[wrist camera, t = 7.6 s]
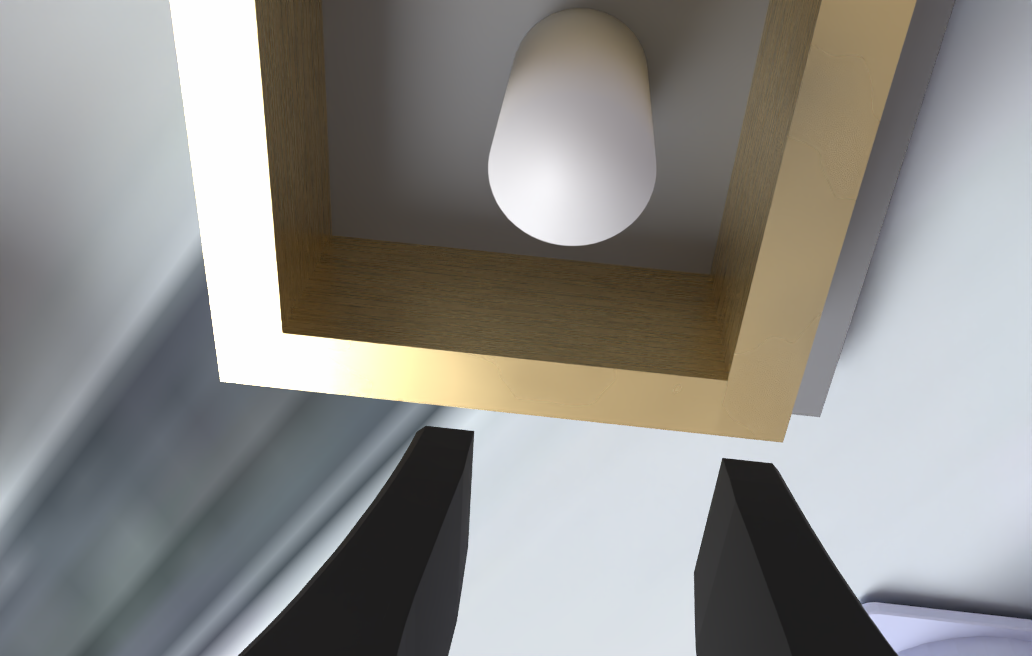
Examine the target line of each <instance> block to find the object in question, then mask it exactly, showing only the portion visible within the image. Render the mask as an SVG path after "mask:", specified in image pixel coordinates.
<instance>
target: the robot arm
mask: <svg viewBox="0 0 1032 656" xmlns="http://www.w3.org/2000/svg"><path fill="white" fill-rule="evenodd" d="M473 442H474V431H468V430H459V429H449V428H440V427H431V426H425V427H424V428H422V429H421V430H419V431H418V432H416V434H415V436H414V438H413V440H412V442H411V444H410V446H409V447H408V449H407V451H406V452H405V454H404V456H403V457H402V459H401V461H400V462H399V464H398V465H397V467H396V469H395V470H394V472H393V473H392V475H391V476H390V478H389V479H388V481H387V482H386V484H385V485H384V486H383V488H382V489H381V491H380V492H379V494H378V495H377V497H376V498H375V500H374V501H373V502H372V504H371V505H370V506H369V508H368V509H367V510H366V512H365V513H364V514H363V515H362V517H361V518H360V519H359V521H358V522H357V523H356V525H355V526H354V527H353V529H352V530H351V531H350V533H349V534H348V535H347V537H346V538H345V539H344V541H343V542H342V543H341V544H340V546H339V547H338V548H337V549H336V550H335V552H334V553H333V554H332V555H331V556H330V558H329V559H328V560H327V561H326V562H325V563H324V565H323V566H322V567H321V568H320V569H319V570H318V571H317V573H316V574H315V575H314V576H313V577H312V578H311V580H310V581H309V582H308V583H307V584H306V585H305V587H304V588H303V589H302V590H301V591H300V592H299V594H298V595H297V596H296V597H295V598H294V599H293V600H292V601H291V602H290V603H289V604H288V606H287V607H286V608H285V609H284V610H283V611H282V612H281V613H280V614H279V615H278V616H277V617H276V618H275V619H274V620H273V621H272V622H271V623H270V624H269V625H268V627H267V628H266V629H265V630H264V631H263V632H262V633H261V634H260V635H259V636H258V637H257V638H255V639H254V640H253V641H252V642H251V643H250V644H249V645H248V646H247V647H246V648H245V649H244V650H243V651H242V652H241V653H240V654H239V655H238V656H448V653H449V650H450V646H451V642H452V638H453V634H454V630H455V626H456V622H457V616H458V610H459V603H460V597H461V590H462V583H463V577H464V570H465V563H466V556H467V550H468V536H469V517H470V498H471V480H472V461H473ZM694 597H695V638H696V654H697V656H1032V620H1030V619H1021V618H1012V617H1003V616H994V615H985V614H977V613H968V612H959V611H950V610H941V609H932V608H924V607H915V606H906V605H897V604H888V603H879V602H868V603H865V604H862V605H861V603H860V602H859V600H858V599H857V597H856V596H855V594H854V593H853V591H852V590H851V588H850V587H849V585H848V584H847V582H846V581H845V579H844V578H843V576H842V575H841V574H840V572H839V571H838V569H837V567H836V566H835V564H834V563H833V561H832V560H831V558H830V557H829V555H828V553H827V552H826V550H825V549H824V547H823V545H822V544H821V542H820V541H819V539H818V537H817V536H816V534H815V532H814V531H813V529H812V528H811V526H810V524H809V523H808V521H807V519H806V518H805V516H804V514H803V513H802V511H801V509H800V507H799V506H798V504H797V502H796V501H795V499H794V497H793V495H792V494H791V492H790V490H789V488H788V487H787V485H786V483H785V481H784V480H783V478H782V476H781V474H780V473H779V471H778V470H777V469H776V467H775V466H774V465H773V464H772V463H763V462H754V461H745V460H736V459H726V458H722V462H721V466H720V470H719V474H718V478H717V482H716V486H715V490H714V494H713V498H712V502H711V506H710V510H709V514H708V518H707V522H706V526H705V531H704V535H703V539H702V543H701V547H700V551H699V555H698V559H697V563H696V567H695V571H694Z"/></svg>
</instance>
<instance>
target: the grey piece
mask: <svg viewBox="0 0 1032 656" xmlns="http://www.w3.org/2000/svg"><path fill="white" fill-rule="evenodd" d="M954 3H955V0H917V1H916V4H915V8H914V11H913V14H912V17H911V21H910V24H909V27H908V31H907V34H906V37H905V41H904V44H903V47H902V50H901V54H900V57H899V60H898V64H897V67H896V70H895V74H894V77H893V80H892V83H891V87H890V90H889V93H888V97H887V100H886V103H885V107H884V110H883V113H882V117H881V120H880V123H879V126H878V130H877V133H876V136H875V140H874V143H873V146H872V150H871V153H870V156H869V159H868V163H867V166H866V169H865V173H864V176H863V179H862V183H861V186H860V189H859V192H858V196H857V199H856V202H855V206H854V209H853V212H852V216H851V219H850V222H849V225H848V229H847V232H846V235H845V239H844V242H843V245H842V249H841V252H840V255H839V258H838V262H837V265H836V268H835V272H834V275H833V278H832V282H831V285H830V288H829V292H828V295H827V298H826V301H825V305H824V308H823V311H822V315H821V318H820V321H819V325H818V328H817V331H816V334H815V338H814V341H813V344H812V348H811V351H810V354H809V358H808V361H807V364H806V367H805V371H804V374H803V377H802V381H801V384H800V387H799V391H798V394H797V397H796V400H795V404H794V407H793V410H792V414H796V415H805V416H814V417H820V415H821V412H822V409H823V406H824V403H825V400H826V397H827V394H828V391H829V388H830V384H831V381H832V378H833V375H834V372H835V369H836V366H837V363H838V360H839V357H840V354H841V351H842V348H843V344H844V341H845V338H846V335H847V332H848V329H849V326H850V323H851V320H852V317H853V314H854V311H855V308H856V305H857V301H858V298H859V295H860V292H861V289H862V286H863V283H864V280H865V277H866V274H867V271H868V268H869V265H870V262H871V258H872V255H873V252H874V249H875V246H876V243H877V240H878V237H879V234H880V231H881V228H882V225H883V222H884V218H885V215H886V212H887V209H888V206H889V203H890V200H891V197H892V194H893V191H894V188H895V185H896V182H897V179H898V175H899V172H900V169H901V166H902V163H903V160H904V157H905V154H906V151H907V148H908V145H909V142H910V139H911V136H912V132H913V129H914V126H915V123H916V120H917V117H918V114H919V111H920V108H921V105H922V102H923V99H924V96H925V92H926V89H927V86H928V83H929V80H930V77H931V74H932V71H933V68H934V65H935V62H936V59H937V56H938V53H939V49H940V46H941V43H942V40H943V37H944V34H945V31H946V28H947V25H948V22H949V19H950V16H951V13H952V10H953V6H954ZM768 5H769V0H322V16H323V39H324V62H325V84H326V107H327V130H328V153H329V175H330V198H331V221H332V235H333V236H343V237H353V238H362V239H372V240H382V241H391V242H401V243H411V244H420V245H430V246H440V247H449V248H459V249H469V250H478V251H488V252H497V253H507V254H517V255H526V256H536V257H546V258H555V259H565V260H575V261H584V262H594V263H604V264H613V265H623V266H633V267H642V268H652V269H662V270H671V271H681V272H691V273H700V274H710V272H711V268H712V263H713V258H714V254H715V249H716V245H717V240H718V235H719V231H720V226H721V222H722V217H723V212H724V208H725V203H726V198H727V194H728V189H729V185H730V180H731V175H732V171H733V166H734V162H735V157H736V152H737V148H738V143H739V139H740V134H741V129H742V125H743V120H744V116H745V111H746V106H747V102H748V97H749V92H750V88H751V83H752V79H753V74H754V69H755V65H756V60H757V56H758V51H759V46H760V42H761V37H762V33H763V28H764V23H765V19H766V14H767V10H768Z"/></svg>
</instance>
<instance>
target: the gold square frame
mask: <svg viewBox="0 0 1032 656" xmlns="http://www.w3.org/2000/svg"><path fill="white" fill-rule="evenodd" d="M916 1H917V0H769V5H768V10H767V14H766V19H765V23H764V28H763V33H762V37H761V42H760V46H759V51H758V56H757V60H756V65H755V69H754V74H753V79H752V83H751V88H750V92H749V97H748V102H747V106H746V111H745V116H744V120H743V125H742V129H741V134H740V139H739V143H738V148H737V152H736V157H735V162H734V166H733V171H732V175H731V180H730V185H729V189H728V194H727V198H726V203H725V208H724V212H723V217H722V222H721V226H720V231H719V235H718V240H717V245H716V249H715V254H714V258H713V263H712V268H711V272H710V274H700V273H691V272H681V271H671V270H662V269H652V268H642V267H633V266H623V265H613V264H604V263H594V262H584V261H575V260H565V259H555V258H546V257H536V256H526V255H517V254H507V253H497V252H488V251H478V250H469V249H459V248H449V247H440V246H430V245H420V244H411V243H401V242H391V241H382V240H372V239H362V238H353V237H343V236H333V235H332V221H331V198H330V175H329V153H328V130H327V107H326V84H325V62H324V39H323V16H322V0H170V5H171V12H172V20H173V28H174V35H175V43H176V50H177V58H178V65H179V73H180V80H181V88H182V95H183V103H184V110H185V118H186V126H187V133H188V141H189V148H190V156H191V163H192V171H193V178H194V186H195V193H196V201H197V209H198V216H199V224H200V231H201V239H202V246H203V254H204V261H205V269H206V276H207V284H208V292H209V299H210V307H211V314H212V322H213V329H214V337H215V344H216V352H217V359H218V367H219V375H220V381H221V382H231V383H240V384H249V385H258V386H267V387H277V388H286V389H295V390H304V391H313V392H323V393H332V394H341V395H350V396H359V397H369V398H378V399H387V400H396V401H406V402H415V403H424V404H433V405H442V406H452V407H461V408H470V409H479V410H488V411H498V412H507V413H516V414H525V415H535V416H544V417H553V418H562V419H571V420H581V421H590V422H599V423H608V424H617V425H627V426H636V427H645V428H654V429H663V430H673V431H682V432H691V433H700V434H710V435H719V436H728V437H737V438H746V439H756V440H765V441H774V442H783V440H784V437H785V433H786V430H787V427H788V424H789V420H790V417H791V414H792V410H793V407H794V404H795V400H796V397H797V394H798V391H799V387H800V384H801V381H802V377H803V374H804V371H805V367H806V364H807V361H808V358H809V354H810V351H811V348H812V344H813V341H814V338H815V334H816V331H817V328H818V325H819V321H820V318H821V315H822V311H823V308H824V305H825V301H826V298H827V295H828V292H829V288H830V285H831V282H832V278H833V275H834V272H835V268H836V265H837V262H838V258H839V255H840V252H841V249H842V245H843V242H844V239H845V235H846V232H847V229H848V225H849V222H850V219H851V216H852V212H853V209H854V206H855V202H856V199H857V196H858V192H859V189H860V186H861V183H862V179H863V176H864V173H865V169H866V166H867V163H868V159H869V156H870V153H871V150H872V146H873V143H874V140H875V136H876V133H877V130H878V126H879V123H880V120H881V117H882V113H883V110H884V107H885V103H886V100H887V97H888V93H889V90H890V87H891V83H892V80H893V77H894V74H895V70H896V67H897V64H898V60H899V57H900V54H901V50H902V47H903V44H904V41H905V37H906V34H907V31H908V27H909V24H910V21H911V17H912V14H913V11H914V8H915V4H916Z"/></svg>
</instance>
